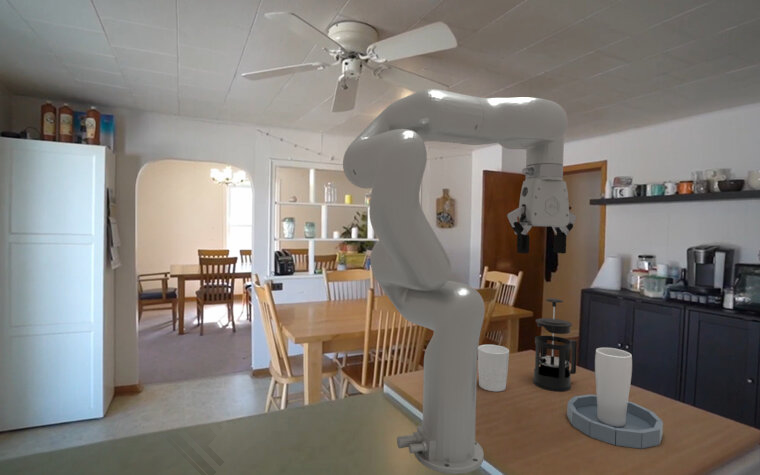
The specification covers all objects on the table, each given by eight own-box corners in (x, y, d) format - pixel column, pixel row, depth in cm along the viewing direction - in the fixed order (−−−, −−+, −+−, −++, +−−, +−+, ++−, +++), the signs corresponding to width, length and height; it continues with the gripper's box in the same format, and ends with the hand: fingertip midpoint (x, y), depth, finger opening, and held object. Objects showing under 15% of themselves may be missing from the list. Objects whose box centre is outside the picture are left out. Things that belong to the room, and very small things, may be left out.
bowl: (616, 453, 74) (617, 437, 74) (551, 412, 90) (551, 399, 90) (682, 440, 79) (682, 425, 79) (609, 403, 96) (609, 391, 96)
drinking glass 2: (635, 431, 81) (638, 358, 81) (599, 427, 82) (601, 355, 82) (622, 416, 88) (624, 348, 87) (588, 412, 89) (591, 346, 88)
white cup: (470, 383, 107) (471, 346, 106) (493, 379, 110) (494, 343, 110) (490, 394, 99) (491, 355, 99) (514, 390, 103) (515, 351, 103)
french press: (542, 392, 102) (545, 302, 101) (524, 378, 111) (526, 296, 110) (584, 390, 103) (587, 302, 103) (563, 377, 113) (565, 295, 112)
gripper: (521, 170, 81) (519, 254, 81) (589, 175, 86) (586, 254, 87) (499, 174, 88) (497, 252, 88) (563, 179, 93) (560, 252, 94)
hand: (541, 253), depth 88 cm, fingers open, 9 cm apart
